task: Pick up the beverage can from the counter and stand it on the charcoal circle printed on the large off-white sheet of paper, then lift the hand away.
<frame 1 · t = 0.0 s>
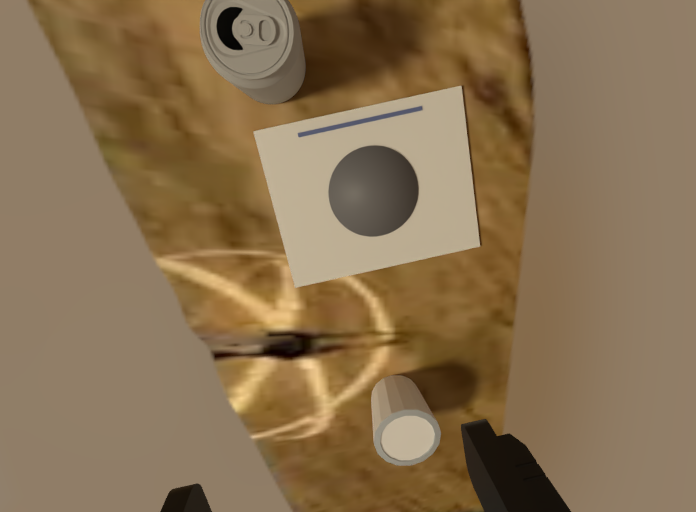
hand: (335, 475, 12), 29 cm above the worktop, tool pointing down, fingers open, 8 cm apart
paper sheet: (373, 192, 39), on the worktop
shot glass: (394, 394, 46), on the worktop
beverage can: (271, 68, 35), on the worktop
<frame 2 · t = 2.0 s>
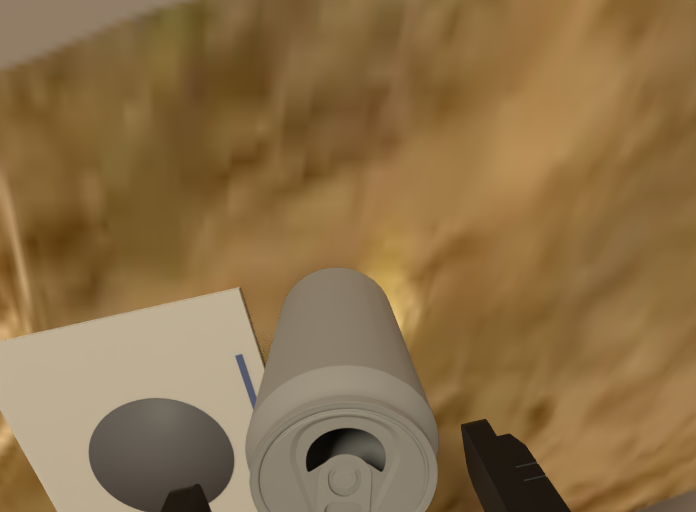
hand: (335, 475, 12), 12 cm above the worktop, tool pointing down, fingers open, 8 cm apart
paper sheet: (164, 454, 25), on the worktop
beverage can: (336, 313, 23), on the worktop
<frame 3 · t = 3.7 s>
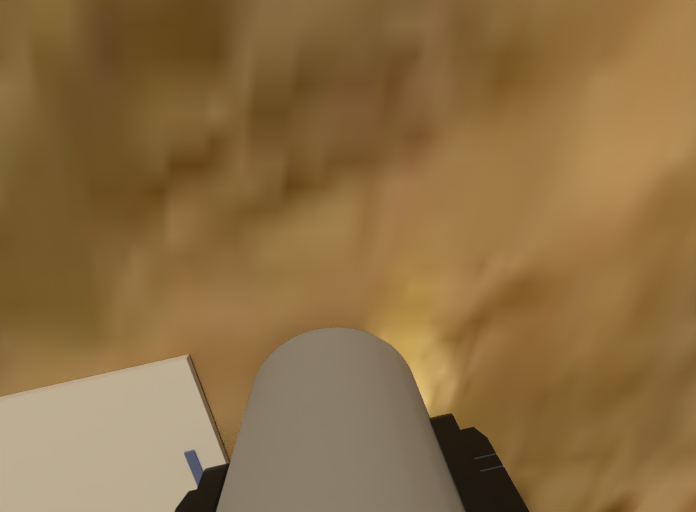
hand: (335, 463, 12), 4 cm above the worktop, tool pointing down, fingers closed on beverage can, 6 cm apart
beverage can: (333, 387, 16), on the worktop, touching gripper
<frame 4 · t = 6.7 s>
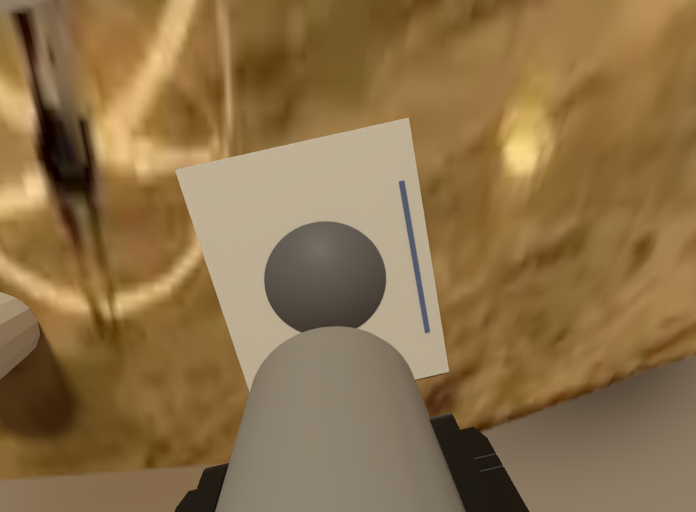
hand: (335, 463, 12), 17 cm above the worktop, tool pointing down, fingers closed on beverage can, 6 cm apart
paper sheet: (325, 279, 29), on the worktop
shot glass: (1, 325, 28), on the worktop
beverage can: (333, 386, 16), point 14 cm above the worktop, touching gripper
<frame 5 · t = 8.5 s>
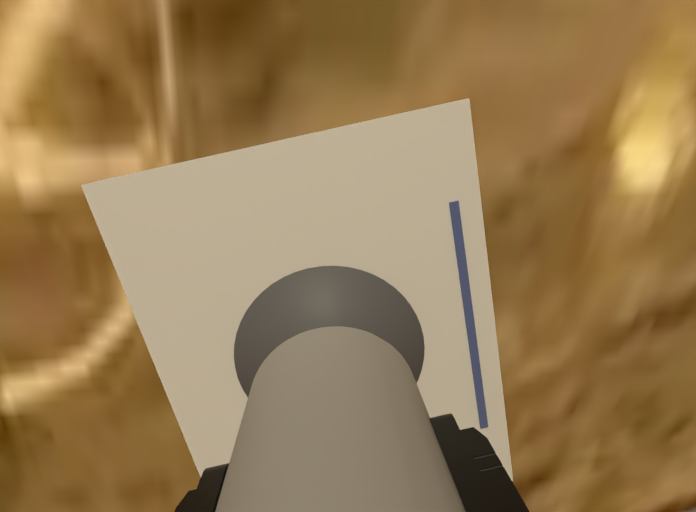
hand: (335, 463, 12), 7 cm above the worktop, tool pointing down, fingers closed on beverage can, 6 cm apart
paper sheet: (330, 352, 19), on the worktop
beverage can: (333, 386, 16), point 3 cm above the worktop, touching gripper
when the fingers open (5 cm above the worktop, at t = 9.9 s): beverage can stays where it is, resting on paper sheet.
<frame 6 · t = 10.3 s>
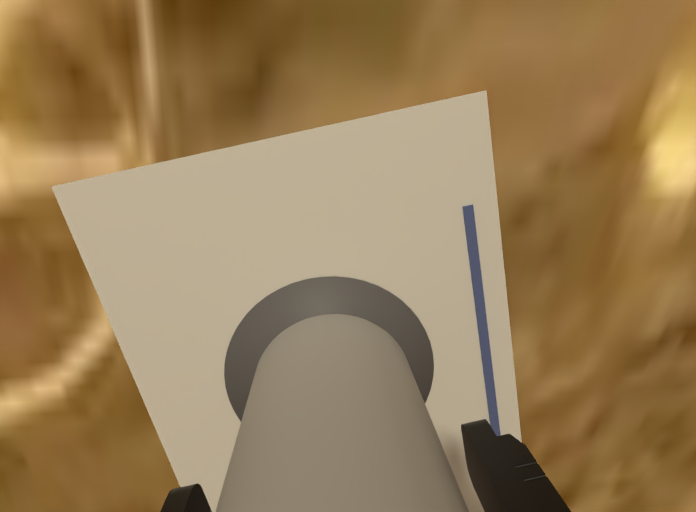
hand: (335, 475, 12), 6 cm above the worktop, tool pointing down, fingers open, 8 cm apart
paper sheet: (330, 370, 17), on the worktop
beverage can: (332, 372, 17), resting on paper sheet
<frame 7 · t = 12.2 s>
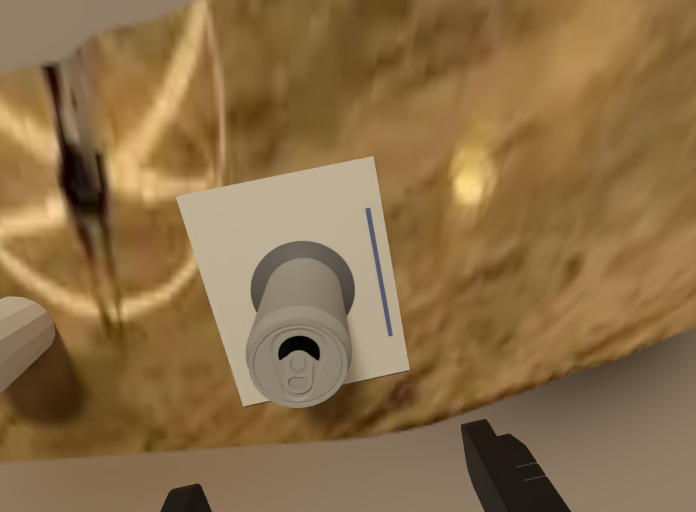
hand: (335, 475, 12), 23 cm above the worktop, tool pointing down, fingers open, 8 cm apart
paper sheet: (303, 289, 34), on the worktop
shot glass: (21, 326, 33), on the worktop
beverage can: (304, 290, 33), resting on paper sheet
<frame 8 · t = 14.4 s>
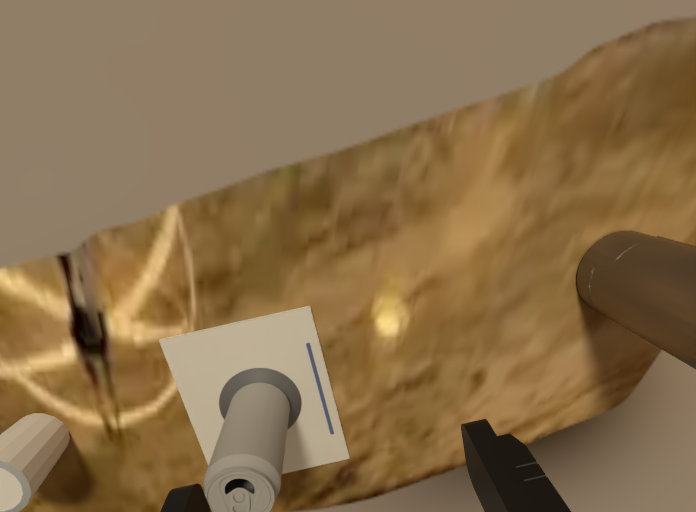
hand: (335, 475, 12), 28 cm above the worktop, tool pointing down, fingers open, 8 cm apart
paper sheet: (261, 401, 43), on the worktop
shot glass: (44, 433, 42), on the worktop
beverage can: (261, 402, 43), resting on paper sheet
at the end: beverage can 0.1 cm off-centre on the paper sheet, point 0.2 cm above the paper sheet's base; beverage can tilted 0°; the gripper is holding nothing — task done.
